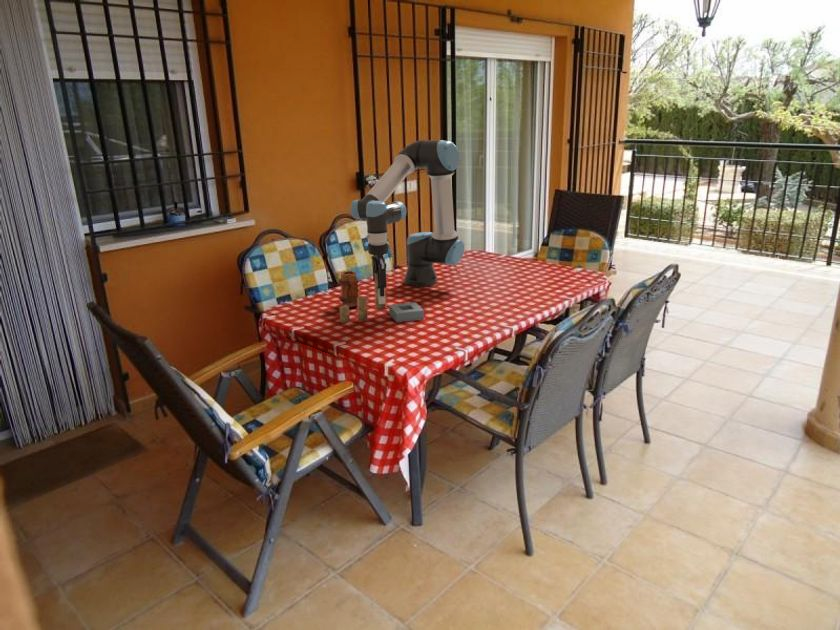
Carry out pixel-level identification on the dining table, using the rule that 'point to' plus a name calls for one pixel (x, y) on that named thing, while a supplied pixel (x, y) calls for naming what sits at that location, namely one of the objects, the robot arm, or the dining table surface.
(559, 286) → the dining table surface
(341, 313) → the dowel short
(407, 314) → the hole block
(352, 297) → the mug
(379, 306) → the dowel long
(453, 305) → the dining table surface
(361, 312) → the dowel medium
